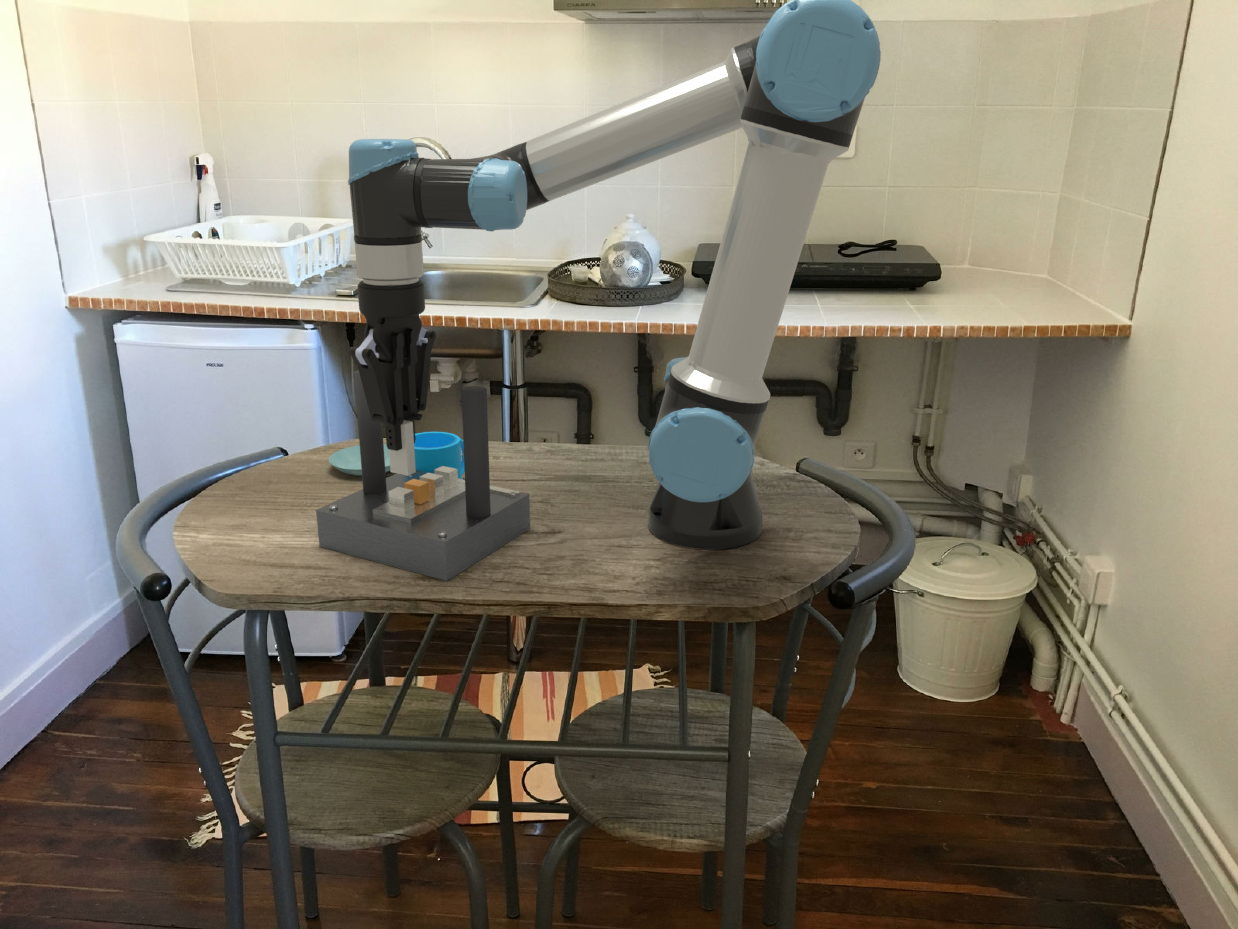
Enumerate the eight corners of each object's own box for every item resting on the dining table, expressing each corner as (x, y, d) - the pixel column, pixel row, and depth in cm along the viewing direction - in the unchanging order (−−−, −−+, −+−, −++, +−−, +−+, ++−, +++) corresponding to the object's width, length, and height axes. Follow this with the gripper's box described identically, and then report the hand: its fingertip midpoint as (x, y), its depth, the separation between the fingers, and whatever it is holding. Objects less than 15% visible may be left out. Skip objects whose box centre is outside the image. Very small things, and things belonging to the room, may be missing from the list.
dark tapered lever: (495, 512, 126) (491, 388, 121) (481, 520, 124) (476, 394, 118) (475, 507, 128) (471, 384, 122) (461, 515, 125) (456, 390, 120)
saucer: (355, 488, 148) (354, 474, 147) (315, 469, 156) (313, 455, 155) (423, 470, 156) (422, 456, 155) (381, 452, 164) (380, 438, 163)
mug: (436, 508, 141) (433, 453, 138) (393, 497, 145) (389, 442, 142) (490, 483, 150) (488, 431, 148) (448, 473, 154) (445, 422, 152)
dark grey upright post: (391, 488, 134) (383, 370, 128) (376, 495, 131) (367, 375, 126) (373, 484, 135) (365, 367, 130) (358, 491, 132) (348, 372, 127)
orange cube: (429, 499, 128) (428, 482, 127) (420, 504, 126) (419, 486, 126) (414, 496, 129) (413, 478, 128) (405, 500, 128) (404, 483, 127)
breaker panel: (530, 529, 134) (529, 472, 131) (446, 581, 119) (443, 518, 116) (410, 501, 143) (407, 447, 140) (319, 546, 128) (313, 487, 125)
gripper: (401, 269, 123) (412, 452, 131) (325, 284, 112) (343, 483, 120) (451, 274, 120) (459, 461, 128) (378, 290, 109) (392, 494, 117)
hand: (403, 471), depth 124 cm, fingers closed
